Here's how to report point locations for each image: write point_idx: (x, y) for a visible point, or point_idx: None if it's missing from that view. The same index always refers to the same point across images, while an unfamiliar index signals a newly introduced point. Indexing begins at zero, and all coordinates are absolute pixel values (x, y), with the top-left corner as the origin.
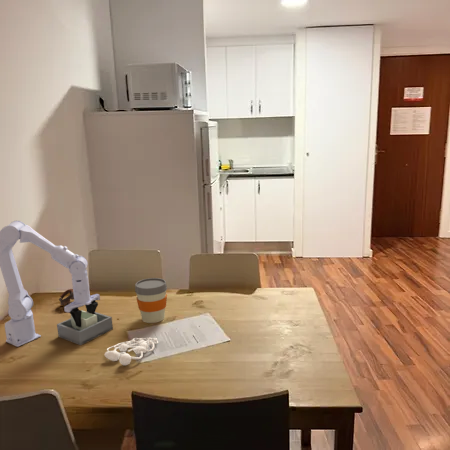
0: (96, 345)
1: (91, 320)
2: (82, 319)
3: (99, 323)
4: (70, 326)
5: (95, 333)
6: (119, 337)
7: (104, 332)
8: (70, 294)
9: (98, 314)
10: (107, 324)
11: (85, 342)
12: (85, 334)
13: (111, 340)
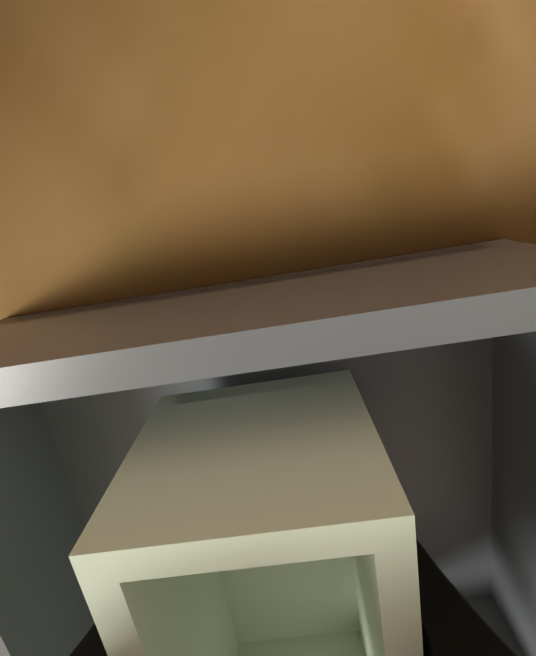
0: (383, 58)
1: (244, 482)
2: (415, 602)
3: (140, 343)
4: None
5: (263, 289)
6: (27, 12)
7: (127, 300)
8: None
9: (6, 633)
10: (18, 336)
11: (427, 252)
12: (461, 271)
13: (158, 22)
